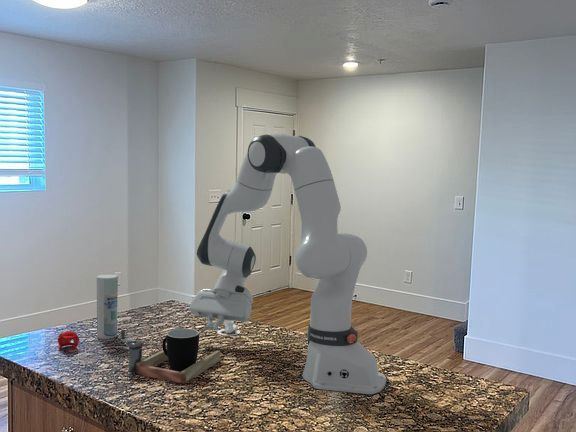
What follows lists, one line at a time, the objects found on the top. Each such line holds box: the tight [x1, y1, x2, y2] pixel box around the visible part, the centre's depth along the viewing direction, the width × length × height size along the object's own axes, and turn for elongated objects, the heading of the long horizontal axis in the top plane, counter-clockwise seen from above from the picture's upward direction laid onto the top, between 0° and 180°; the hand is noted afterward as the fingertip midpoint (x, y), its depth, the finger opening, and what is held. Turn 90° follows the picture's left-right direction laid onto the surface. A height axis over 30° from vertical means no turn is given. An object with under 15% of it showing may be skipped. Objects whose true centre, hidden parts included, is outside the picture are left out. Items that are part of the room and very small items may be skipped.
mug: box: [161, 327, 200, 372], centre depth 152 cm, size 12×9×10 cm
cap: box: [57, 330, 80, 350], centre depth 165 cm, size 7×6×6 cm
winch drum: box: [120, 329, 145, 373], centre depth 149 cm, size 7×5×11 cm, turn 68°
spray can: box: [96, 274, 119, 340], centre depth 178 cm, size 6×6×20 cm
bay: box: [135, 349, 221, 385], centre depth 152 cm, size 15×19×3 cm
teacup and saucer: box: [216, 320, 241, 337], centre depth 187 cm, size 9×8×4 cm
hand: (211, 329), depth 168 cm, fingers closed
